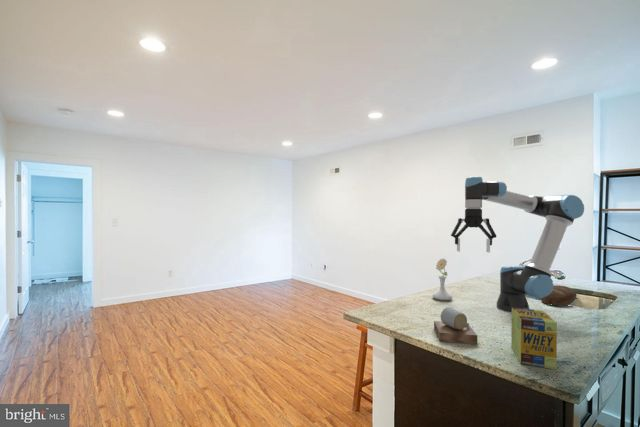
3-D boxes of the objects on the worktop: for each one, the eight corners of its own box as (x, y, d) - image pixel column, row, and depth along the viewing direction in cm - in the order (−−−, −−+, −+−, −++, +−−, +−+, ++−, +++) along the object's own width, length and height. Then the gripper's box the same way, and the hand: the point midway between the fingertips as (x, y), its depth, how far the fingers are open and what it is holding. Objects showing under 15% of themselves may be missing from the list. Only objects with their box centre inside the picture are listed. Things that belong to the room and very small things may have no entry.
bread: (534, 303, 183) (534, 289, 183) (550, 293, 207) (550, 280, 207) (568, 309, 171) (568, 294, 171) (580, 298, 196) (580, 284, 196)
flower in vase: (430, 296, 196) (430, 256, 196) (449, 297, 194) (449, 256, 194) (435, 302, 183) (435, 259, 183) (455, 303, 181) (456, 259, 181)
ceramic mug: (455, 332, 126) (455, 313, 126) (440, 325, 134) (440, 307, 134) (474, 329, 131) (474, 310, 131) (458, 322, 138) (459, 305, 138)
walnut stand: (467, 331, 137) (467, 323, 137) (477, 344, 123) (477, 335, 123) (434, 328, 140) (434, 320, 140) (439, 341, 126) (439, 332, 126)
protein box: (520, 364, 107) (520, 319, 107) (510, 346, 122) (511, 306, 122) (557, 370, 103) (557, 323, 103) (543, 351, 118) (543, 309, 118)
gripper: (498, 208, 156) (498, 251, 156) (445, 208, 161) (444, 250, 161) (504, 208, 148) (503, 253, 148) (448, 208, 153) (447, 251, 153)
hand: (473, 251), depth 154 cm, fingers open, 13 cm apart
